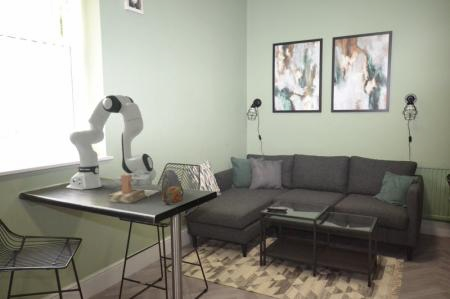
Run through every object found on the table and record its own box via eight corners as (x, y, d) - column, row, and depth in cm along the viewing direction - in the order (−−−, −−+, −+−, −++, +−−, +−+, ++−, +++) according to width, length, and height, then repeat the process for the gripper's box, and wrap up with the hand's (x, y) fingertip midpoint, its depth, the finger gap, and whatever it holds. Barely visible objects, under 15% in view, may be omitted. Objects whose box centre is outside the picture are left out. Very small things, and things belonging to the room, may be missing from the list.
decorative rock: (168, 198, 208) (167, 172, 206) (158, 197, 211) (157, 171, 209) (185, 192, 222) (184, 167, 220) (176, 191, 225) (175, 167, 223)
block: (122, 193, 205) (121, 175, 204) (126, 191, 209) (125, 174, 208) (128, 193, 204) (127, 175, 203) (132, 191, 208) (131, 174, 207)
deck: (109, 201, 202) (108, 194, 202) (123, 196, 216) (123, 189, 215) (131, 203, 198) (131, 195, 198) (144, 197, 212) (144, 190, 211)
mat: (123, 195, 218) (123, 194, 218) (136, 190, 231) (136, 189, 231) (148, 196, 213) (148, 195, 213) (159, 191, 226) (159, 190, 226)
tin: (166, 205, 192) (165, 189, 191) (161, 205, 193) (161, 189, 192) (184, 199, 204) (183, 184, 203) (179, 199, 206) (179, 184, 205)
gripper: (123, 172, 221) (109, 176, 208) (153, 173, 215) (141, 178, 202) (123, 183, 222) (109, 187, 209) (154, 184, 216) (142, 189, 202)
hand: (125, 183), depth 205 cm, fingers closed on block, 4 cm apart
